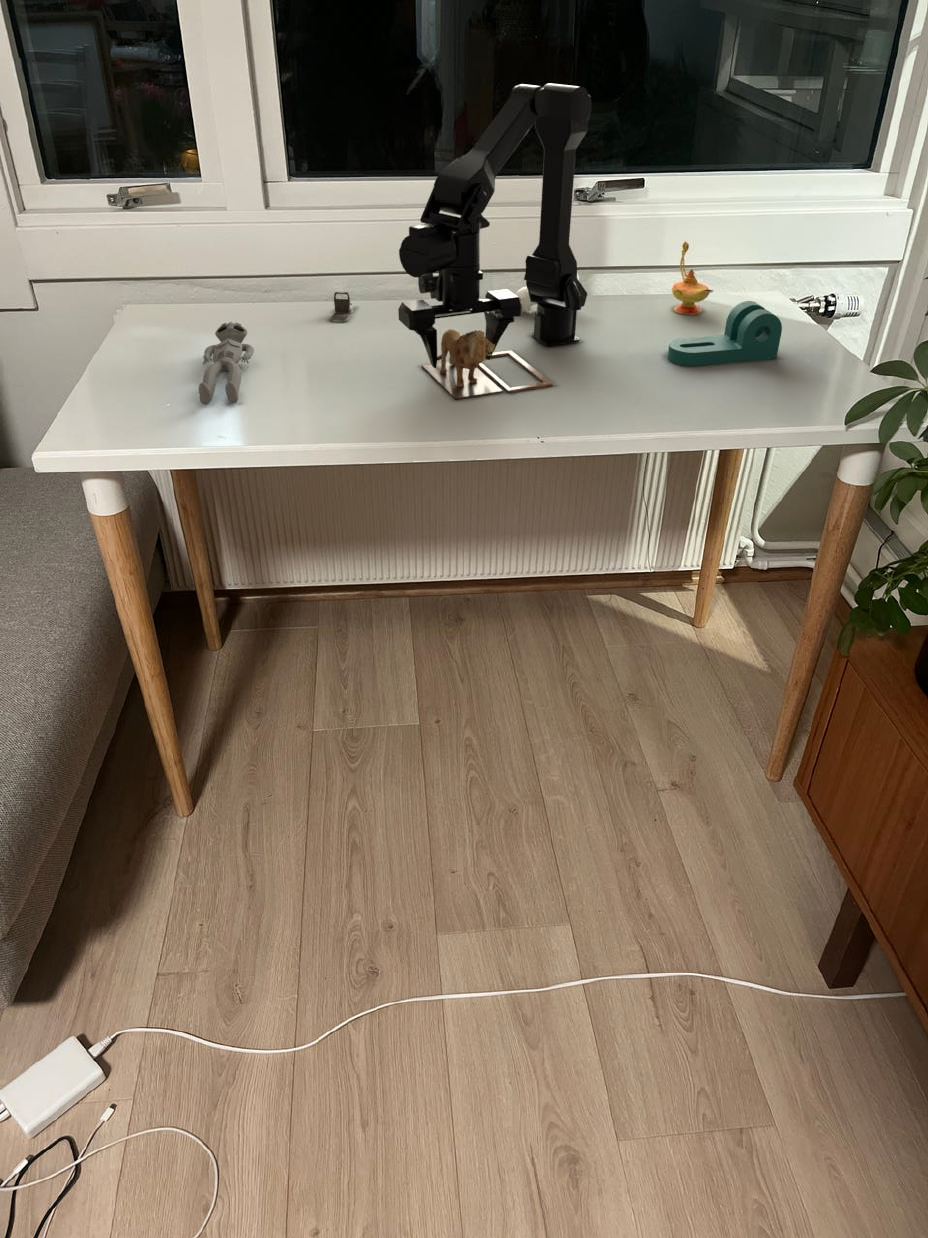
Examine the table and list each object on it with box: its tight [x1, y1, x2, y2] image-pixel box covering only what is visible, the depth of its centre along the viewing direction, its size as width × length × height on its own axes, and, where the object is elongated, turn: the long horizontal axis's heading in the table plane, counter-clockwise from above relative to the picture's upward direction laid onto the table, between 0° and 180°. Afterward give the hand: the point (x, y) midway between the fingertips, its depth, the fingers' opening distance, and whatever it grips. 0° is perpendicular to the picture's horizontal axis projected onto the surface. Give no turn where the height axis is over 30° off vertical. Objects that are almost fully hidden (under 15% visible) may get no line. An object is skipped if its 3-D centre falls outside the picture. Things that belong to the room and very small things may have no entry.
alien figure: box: [198, 321, 255, 405], centre depth 156 cm, size 8×5×25 cm
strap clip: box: [331, 291, 355, 322], centre depth 180 cm, size 8×3×4 cm, turn 174°
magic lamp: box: [671, 240, 714, 316], centre depth 179 cm, size 7×18×11 cm, turn 7°
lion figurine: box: [437, 328, 495, 387], centre depth 153 cm, size 15×5×9 cm, turn 33°
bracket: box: [667, 300, 783, 367], centre depth 162 cm, size 18×7×8 cm, turn 103°
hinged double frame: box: [421, 350, 554, 401], centre depth 157 cm, size 16×16×1 cm
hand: (460, 362), depth 154 cm, fingers open, 9 cm apart
